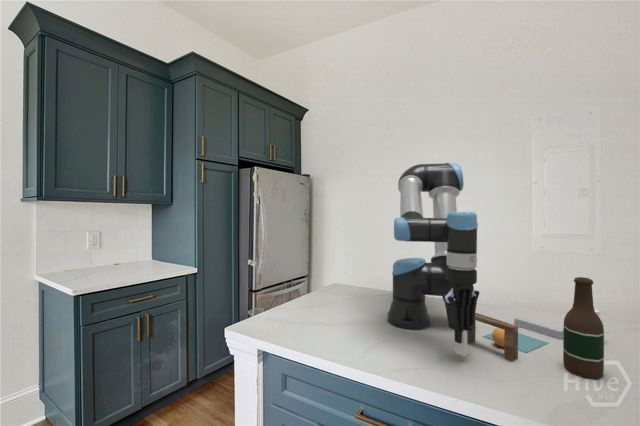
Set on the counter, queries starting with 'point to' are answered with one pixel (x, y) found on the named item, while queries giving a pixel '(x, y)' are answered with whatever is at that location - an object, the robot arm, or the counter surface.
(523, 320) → the wall
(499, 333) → the ball
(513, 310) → the counter surface
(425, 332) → the counter surface
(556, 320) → the counter surface
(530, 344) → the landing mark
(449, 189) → the robot arm
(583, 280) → the beer bottle
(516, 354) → the bridge
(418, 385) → the counter surface
